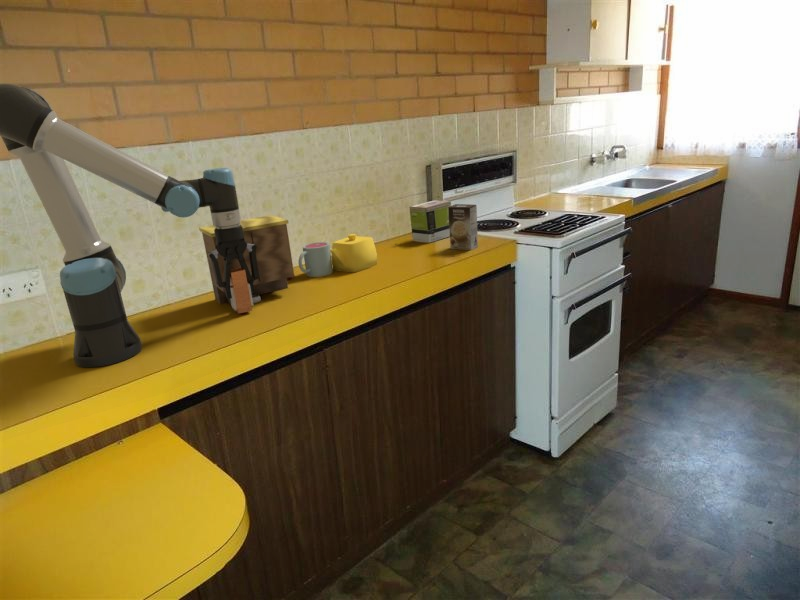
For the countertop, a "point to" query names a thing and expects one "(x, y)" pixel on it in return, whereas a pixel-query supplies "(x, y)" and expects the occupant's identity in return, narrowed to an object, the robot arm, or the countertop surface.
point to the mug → (316, 259)
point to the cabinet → (257, 254)
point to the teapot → (353, 253)
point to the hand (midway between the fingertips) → (242, 306)
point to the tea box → (430, 221)
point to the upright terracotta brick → (240, 290)
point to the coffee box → (463, 226)
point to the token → (255, 298)
